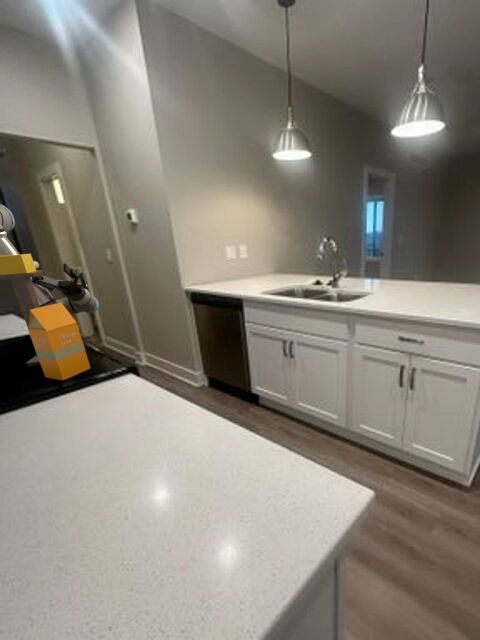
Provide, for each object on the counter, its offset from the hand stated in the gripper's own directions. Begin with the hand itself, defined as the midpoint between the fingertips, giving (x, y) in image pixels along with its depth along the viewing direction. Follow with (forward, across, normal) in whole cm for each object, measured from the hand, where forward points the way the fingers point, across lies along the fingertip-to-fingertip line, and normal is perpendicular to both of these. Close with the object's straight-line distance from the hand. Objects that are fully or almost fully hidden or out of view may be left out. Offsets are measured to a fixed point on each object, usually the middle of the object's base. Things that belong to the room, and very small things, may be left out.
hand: (47, 267), depth 119 cm
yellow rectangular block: (+14, 0, +8) cm, 16 cm away
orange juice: (+14, +12, +41) cm, 45 cm away
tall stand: (+2, +1, +34) cm, 34 cm away
